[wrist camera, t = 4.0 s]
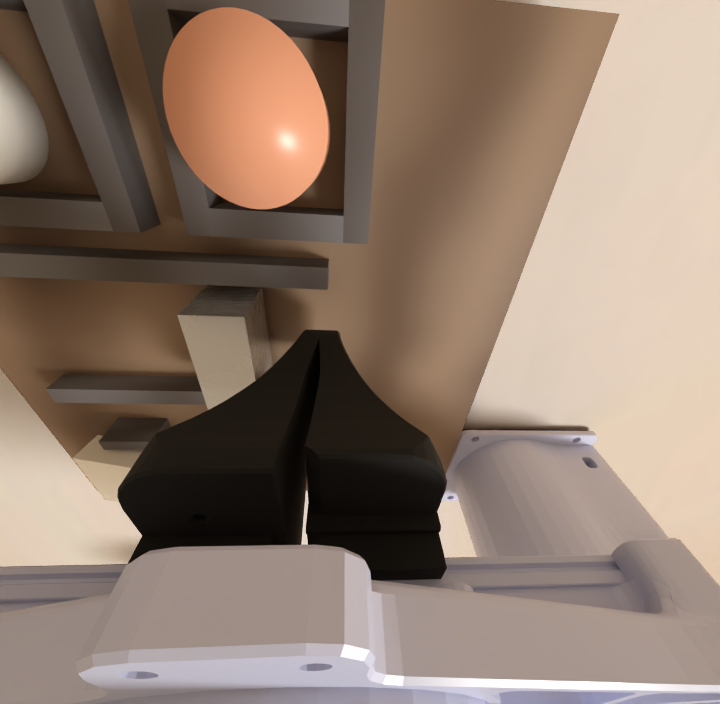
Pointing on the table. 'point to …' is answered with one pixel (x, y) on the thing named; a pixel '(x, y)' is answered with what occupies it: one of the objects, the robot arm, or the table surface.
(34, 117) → the cream egg shape
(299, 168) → the peach egg shape
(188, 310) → the light grey small block
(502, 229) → the brown flat wooden tray
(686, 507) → the table surface
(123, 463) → the block
